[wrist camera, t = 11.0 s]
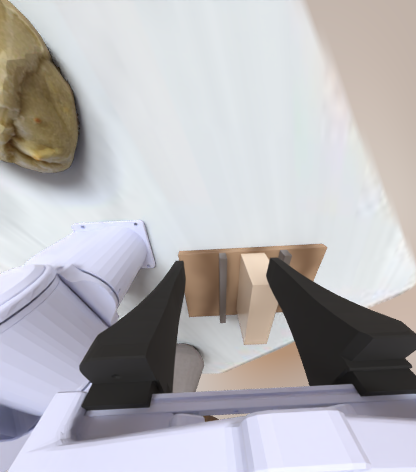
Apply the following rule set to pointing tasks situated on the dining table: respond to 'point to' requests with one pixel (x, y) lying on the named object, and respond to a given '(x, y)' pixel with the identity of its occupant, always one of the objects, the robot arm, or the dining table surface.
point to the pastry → (33, 99)
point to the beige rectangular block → (255, 299)
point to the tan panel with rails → (235, 274)
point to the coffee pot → (188, 371)
